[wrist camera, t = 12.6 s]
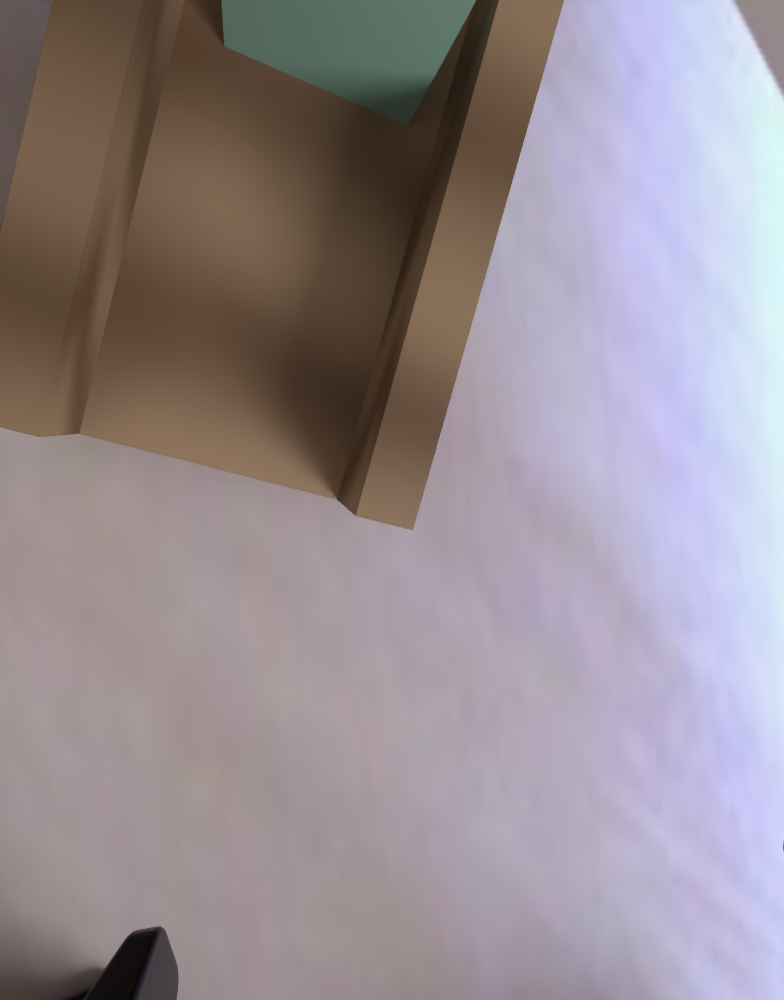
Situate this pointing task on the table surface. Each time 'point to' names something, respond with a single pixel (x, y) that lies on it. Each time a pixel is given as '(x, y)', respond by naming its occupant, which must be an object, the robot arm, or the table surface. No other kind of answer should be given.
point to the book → (351, 45)
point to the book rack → (254, 247)
